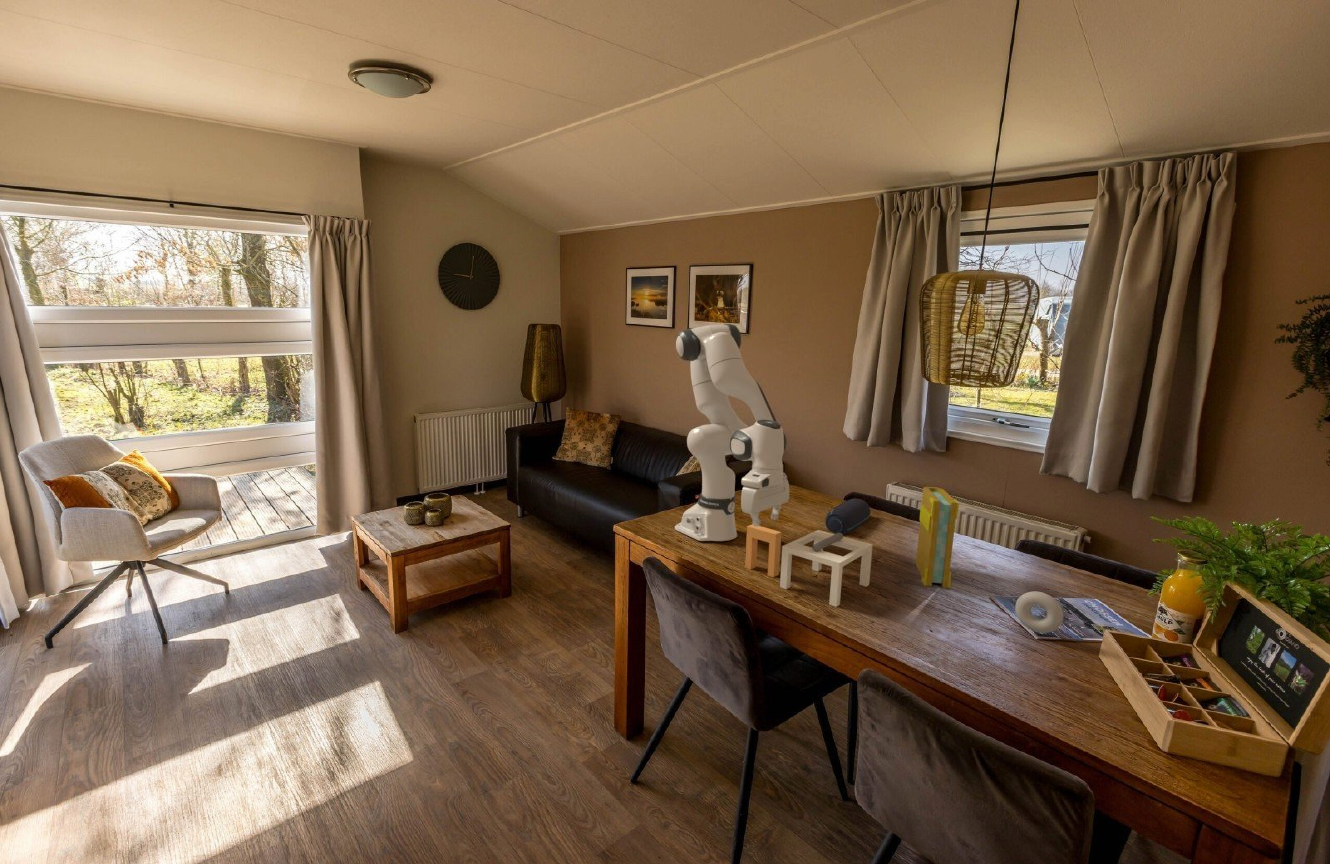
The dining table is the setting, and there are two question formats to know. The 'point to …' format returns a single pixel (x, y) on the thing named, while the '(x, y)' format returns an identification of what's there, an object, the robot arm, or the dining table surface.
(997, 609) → the dining table surface
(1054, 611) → the donut
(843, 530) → the portable speaker
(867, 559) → the white miniature table
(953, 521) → the book
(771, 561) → the orange arch
